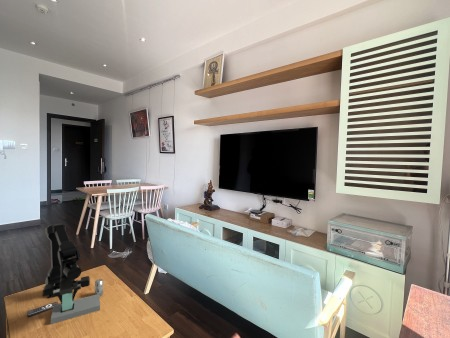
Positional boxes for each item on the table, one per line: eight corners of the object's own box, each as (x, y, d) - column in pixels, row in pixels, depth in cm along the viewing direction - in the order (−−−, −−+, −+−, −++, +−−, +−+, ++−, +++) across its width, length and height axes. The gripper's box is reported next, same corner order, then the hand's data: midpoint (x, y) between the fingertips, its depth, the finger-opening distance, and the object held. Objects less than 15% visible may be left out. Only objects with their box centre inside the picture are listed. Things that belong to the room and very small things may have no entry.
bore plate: (53, 310, 111) (53, 305, 111) (99, 298, 121) (99, 293, 121) (50, 324, 101) (50, 319, 101) (100, 310, 112) (100, 305, 112)
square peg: (62, 306, 110) (63, 290, 110) (72, 303, 112) (72, 288, 112) (62, 311, 106) (62, 295, 106) (72, 308, 109) (72, 292, 108)
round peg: (94, 293, 125) (94, 280, 125) (102, 291, 127) (102, 278, 127) (94, 297, 122) (95, 283, 121) (103, 295, 124) (103, 281, 123)
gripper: (40, 284, 97) (40, 318, 97) (89, 274, 107) (89, 305, 107) (44, 273, 106) (44, 304, 107) (89, 264, 116) (89, 293, 117)
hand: (67, 301), depth 109 cm, fingers closed on square peg, 4 cm apart
